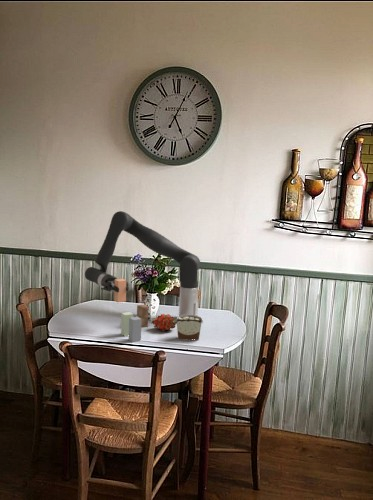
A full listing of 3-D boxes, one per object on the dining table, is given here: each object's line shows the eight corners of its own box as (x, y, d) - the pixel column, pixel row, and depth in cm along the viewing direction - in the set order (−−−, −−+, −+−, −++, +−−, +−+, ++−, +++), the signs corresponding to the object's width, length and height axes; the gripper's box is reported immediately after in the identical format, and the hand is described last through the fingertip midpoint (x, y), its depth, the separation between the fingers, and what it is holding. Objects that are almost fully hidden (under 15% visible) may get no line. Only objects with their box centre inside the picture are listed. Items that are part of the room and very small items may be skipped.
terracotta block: (122, 299, 218) (122, 278, 216) (125, 301, 214) (126, 280, 213) (114, 300, 215) (114, 279, 214) (117, 302, 212) (118, 281, 211)
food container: (201, 335, 214) (202, 314, 212) (202, 340, 208) (203, 318, 206) (174, 334, 213) (175, 313, 212) (174, 339, 207) (175, 317, 206)
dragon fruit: (178, 334, 218) (152, 336, 219) (177, 320, 224) (153, 322, 225) (175, 324, 212) (149, 326, 213) (175, 309, 218) (150, 311, 219)
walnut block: (143, 324, 226) (144, 304, 225) (147, 326, 223) (148, 306, 221) (136, 325, 224) (137, 305, 223) (140, 327, 221) (141, 307, 219)
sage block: (128, 332, 213) (129, 311, 212) (132, 335, 210) (133, 314, 208) (120, 334, 211) (121, 312, 209) (124, 336, 208) (125, 315, 206)
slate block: (136, 338, 207) (137, 316, 205) (140, 340, 203) (141, 319, 202) (128, 339, 204) (129, 317, 203) (132, 342, 201) (133, 320, 200)
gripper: (94, 275, 221) (108, 283, 207) (121, 273, 229) (137, 280, 215) (94, 290, 223) (108, 299, 208) (121, 288, 230) (136, 296, 216)
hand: (122, 289), depth 212 cm, fingers closed on terracotta block, 4 cm apart
